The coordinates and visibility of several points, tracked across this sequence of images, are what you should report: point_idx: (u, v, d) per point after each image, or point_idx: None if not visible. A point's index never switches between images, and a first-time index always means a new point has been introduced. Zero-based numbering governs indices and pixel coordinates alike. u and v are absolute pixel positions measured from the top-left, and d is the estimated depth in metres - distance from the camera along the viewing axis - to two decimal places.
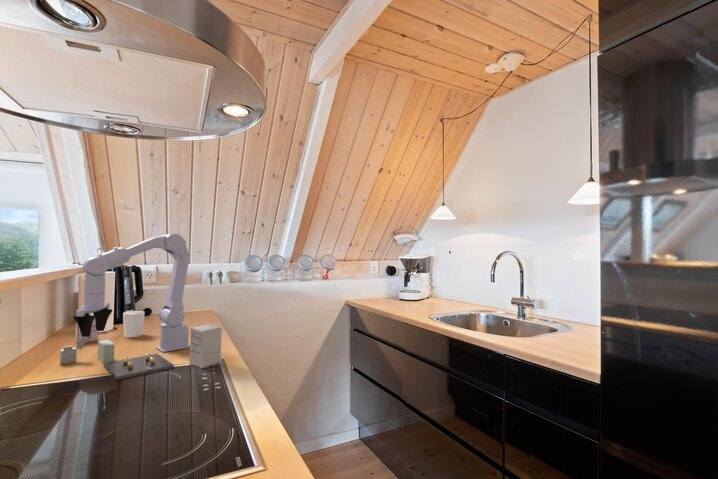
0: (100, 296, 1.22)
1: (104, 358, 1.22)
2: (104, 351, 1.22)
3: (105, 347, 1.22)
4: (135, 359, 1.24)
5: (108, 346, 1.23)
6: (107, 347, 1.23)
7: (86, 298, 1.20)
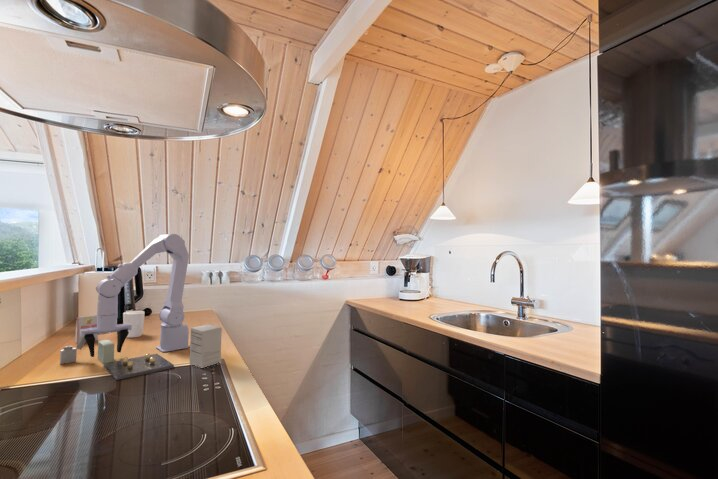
0: (105, 318, 1.23)
1: (104, 358, 1.22)
2: (104, 351, 1.22)
3: (105, 347, 1.22)
4: (135, 359, 1.24)
5: (108, 346, 1.23)
6: (107, 347, 1.23)
7: (97, 319, 1.24)
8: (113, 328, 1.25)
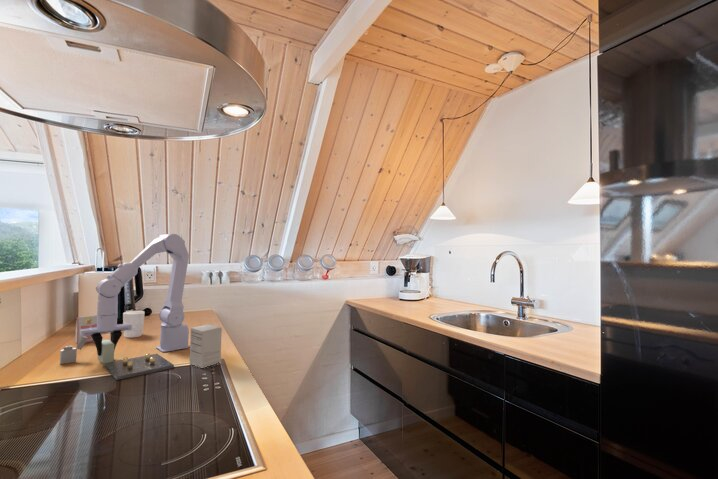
0: (105, 318, 1.23)
1: (104, 358, 1.22)
2: (104, 351, 1.22)
3: (105, 347, 1.22)
4: (135, 359, 1.24)
5: (108, 346, 1.23)
6: (107, 347, 1.23)
7: (97, 319, 1.24)
8: (113, 328, 1.25)
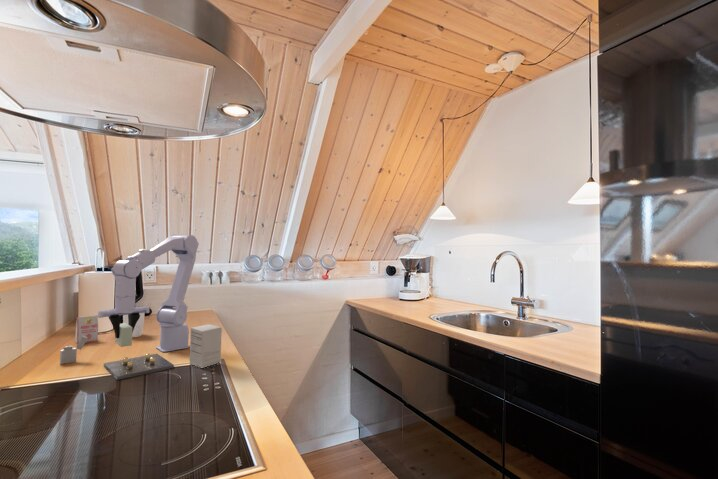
0: (123, 300, 1.20)
1: (122, 341, 1.19)
2: (122, 334, 1.19)
3: (123, 330, 1.19)
4: (135, 359, 1.24)
5: (126, 329, 1.20)
6: (125, 330, 1.20)
7: None
8: (131, 310, 1.22)
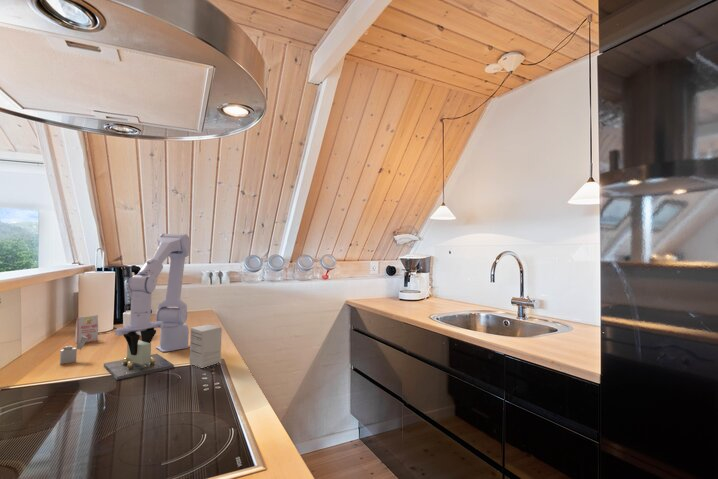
0: (142, 316, 1.18)
1: (142, 358, 1.17)
2: (142, 351, 1.17)
3: (143, 347, 1.17)
4: None
5: (145, 345, 1.18)
6: (145, 347, 1.18)
7: None
8: (149, 326, 1.20)
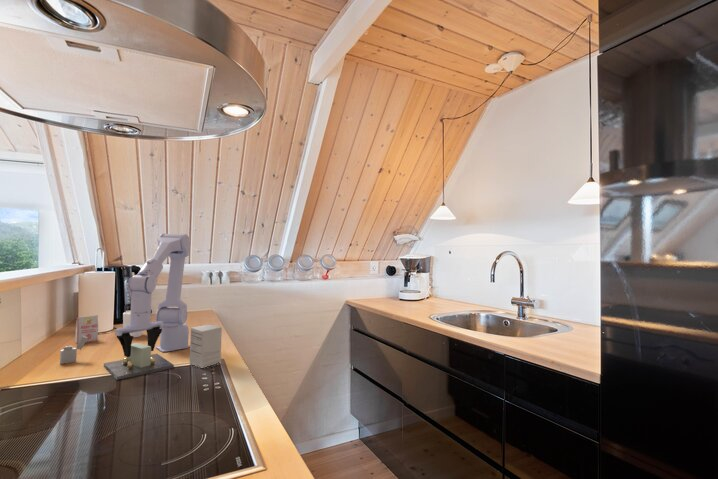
0: (142, 316, 1.18)
1: (142, 361, 1.17)
2: (142, 354, 1.17)
3: (143, 350, 1.17)
4: None
5: (145, 349, 1.18)
6: (145, 350, 1.17)
7: None
8: (149, 326, 1.20)
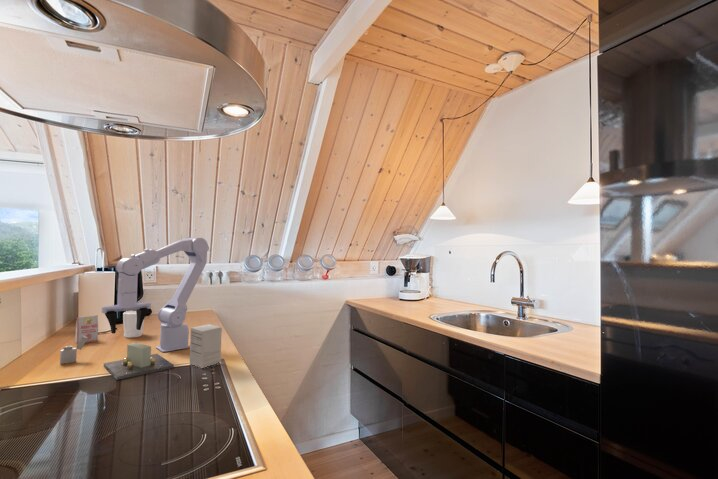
0: (126, 296, 1.26)
1: (142, 361, 1.17)
2: (142, 354, 1.17)
3: (143, 350, 1.17)
4: None
5: (145, 349, 1.18)
6: (145, 350, 1.17)
7: None
8: (133, 306, 1.27)
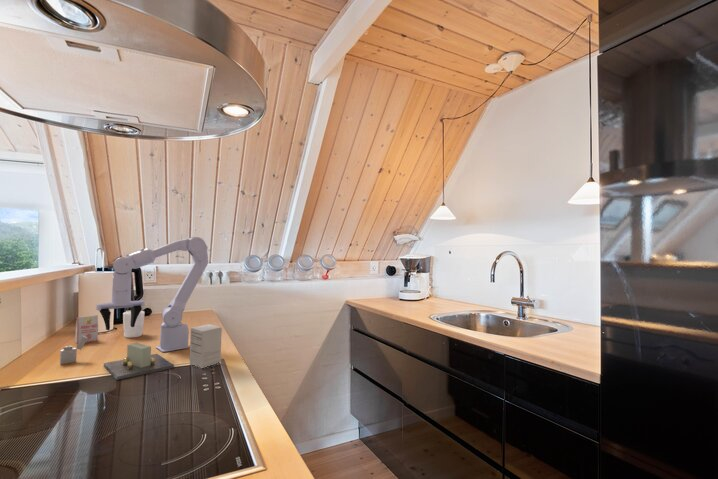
0: (120, 294, 1.30)
1: (142, 361, 1.17)
2: (142, 354, 1.17)
3: (143, 350, 1.17)
4: None
5: (145, 349, 1.18)
6: (145, 350, 1.17)
7: (112, 294, 1.31)
8: (127, 303, 1.31)
